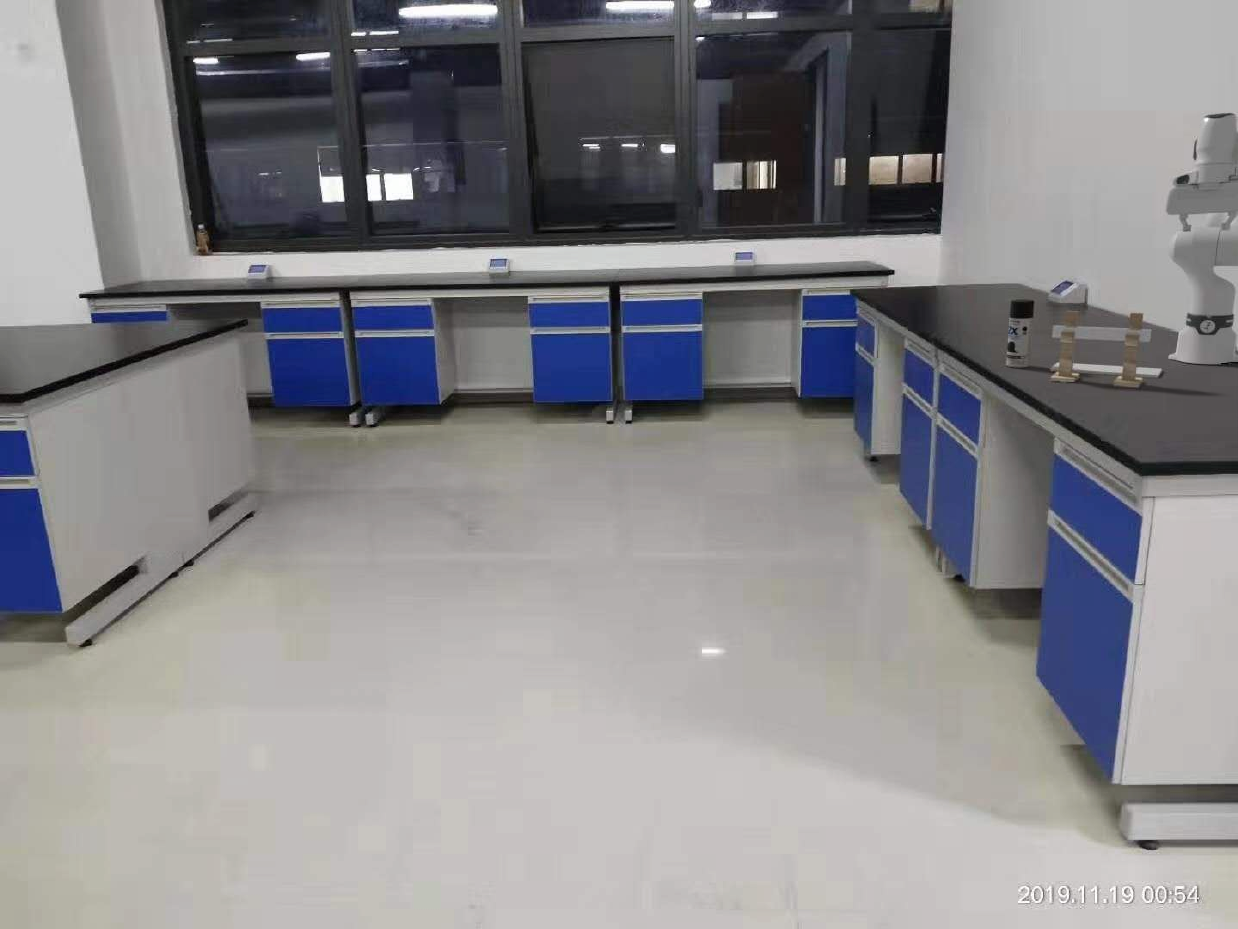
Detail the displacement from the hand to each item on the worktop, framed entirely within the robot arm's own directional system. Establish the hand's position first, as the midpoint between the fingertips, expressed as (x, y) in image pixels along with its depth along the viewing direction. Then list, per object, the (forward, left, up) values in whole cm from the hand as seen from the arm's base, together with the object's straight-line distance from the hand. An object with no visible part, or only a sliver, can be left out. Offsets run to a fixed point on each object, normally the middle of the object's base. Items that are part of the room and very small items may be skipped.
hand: (1205, 230), depth 253 cm
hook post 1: (+15, -29, -40) cm, 51 cm away
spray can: (0, -45, -40) cm, 60 cm away
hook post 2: (+15, -13, -40) cm, 44 cm away
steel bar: (+15, -21, -28) cm, 38 cm away
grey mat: (-1, -21, -40) cm, 45 cm away
